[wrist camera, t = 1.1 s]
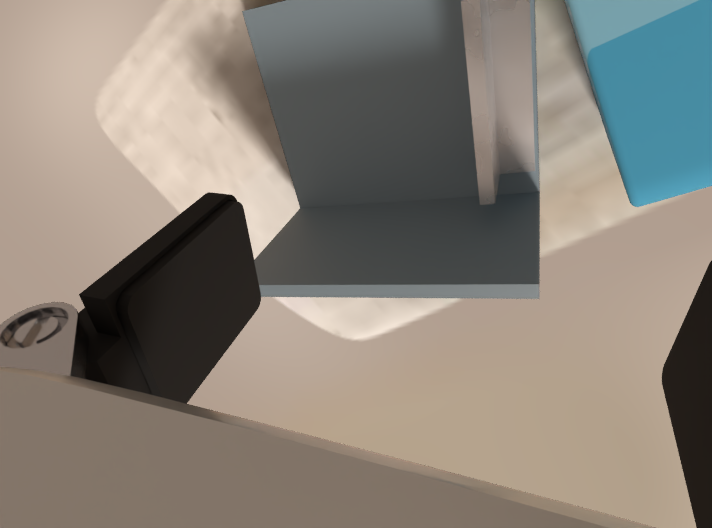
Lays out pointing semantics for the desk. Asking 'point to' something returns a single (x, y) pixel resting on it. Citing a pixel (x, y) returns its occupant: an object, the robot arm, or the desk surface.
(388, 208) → the l-shaped stand
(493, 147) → the bookend
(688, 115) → the data package
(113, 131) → the desk surface
